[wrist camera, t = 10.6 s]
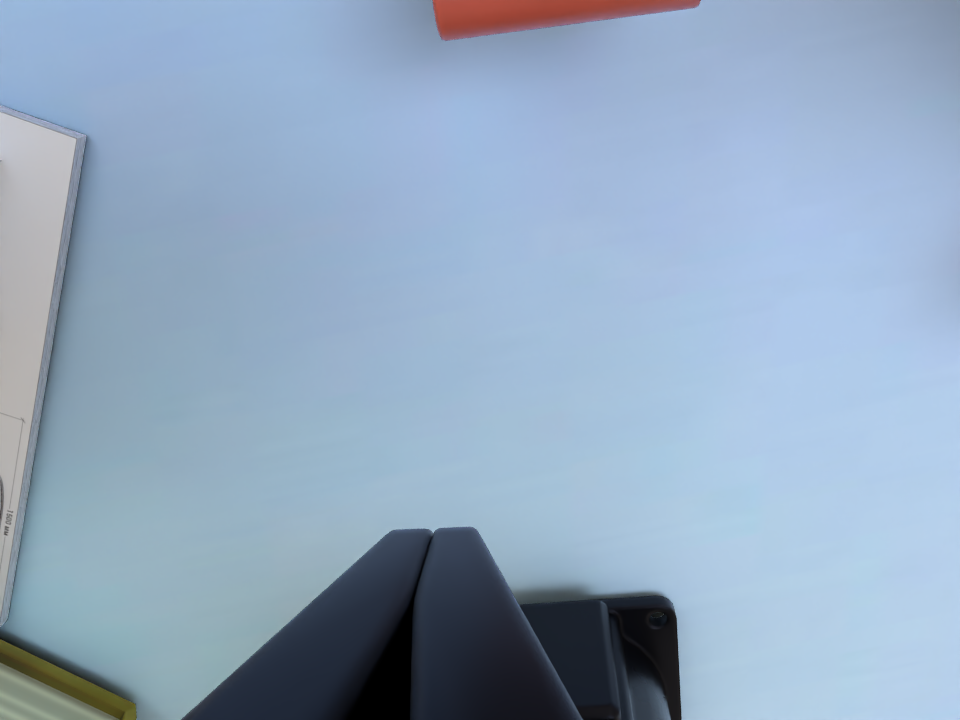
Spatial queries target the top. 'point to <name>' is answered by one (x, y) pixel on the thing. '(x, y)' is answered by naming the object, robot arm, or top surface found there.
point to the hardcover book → (52, 692)
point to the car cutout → (29, 300)
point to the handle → (536, 14)
